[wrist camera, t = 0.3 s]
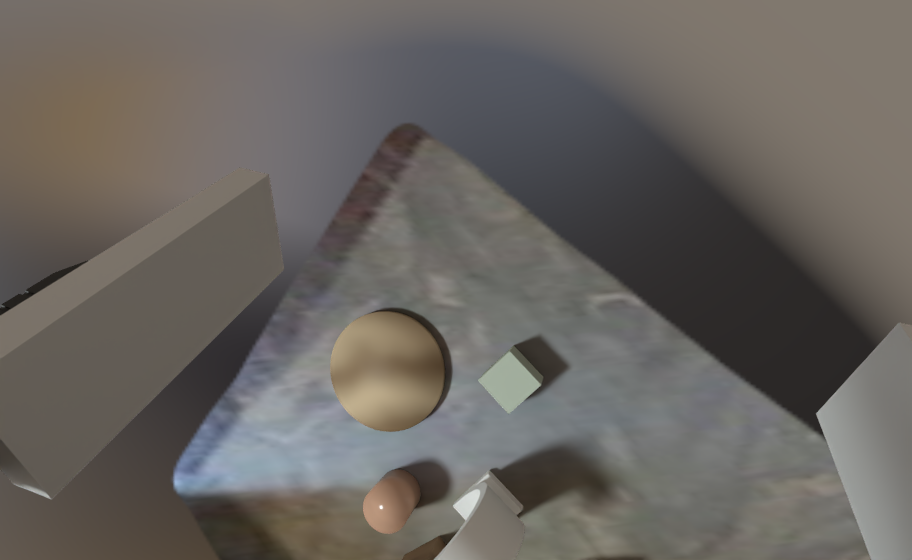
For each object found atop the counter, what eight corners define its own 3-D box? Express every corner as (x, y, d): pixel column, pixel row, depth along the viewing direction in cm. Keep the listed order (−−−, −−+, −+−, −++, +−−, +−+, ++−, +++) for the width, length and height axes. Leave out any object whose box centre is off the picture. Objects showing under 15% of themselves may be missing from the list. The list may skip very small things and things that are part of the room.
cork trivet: (461, 411, 47) (459, 414, 46) (355, 441, 50) (352, 444, 49) (422, 295, 47) (419, 295, 46) (319, 331, 50) (315, 332, 49)
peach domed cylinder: (426, 506, 48) (413, 528, 44) (388, 515, 49) (371, 537, 45) (412, 464, 48) (398, 482, 44) (374, 474, 49) (357, 492, 45)
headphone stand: (454, 501, 47) (414, 580, 36) (496, 462, 46) (469, 531, 34) (487, 537, 47) (458, 630, 35) (531, 499, 45) (515, 582, 34)
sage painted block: (543, 376, 45) (541, 384, 42) (513, 404, 46) (508, 414, 43) (513, 345, 45) (509, 351, 42) (484, 372, 46) (477, 380, 43)
